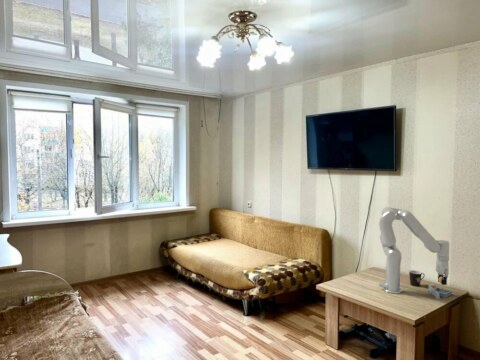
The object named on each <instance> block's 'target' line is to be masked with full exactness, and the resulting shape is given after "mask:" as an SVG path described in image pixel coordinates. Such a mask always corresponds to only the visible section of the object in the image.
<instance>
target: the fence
mask: <svg viewBox="0 0 480 360" xmlns="http://www.w3.org/2000/svg"><path fill="white" fill-rule="evenodd" d="M431 290H432V296H434V297H435V299H436V300H441V297H440V296H439V293H438V292H437V291H436V290H435V288H434V287H432V285H428V289H427V292H429V293H430V294H431Z"/></svg>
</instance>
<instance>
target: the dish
mask: <svg viewBox="0 0 480 360" xmlns="http://www.w3.org/2000/svg"><path fill="white" fill-rule="evenodd" d="M434 289H435V290H436V291H437V292H438V293H439V297H440V298H441V297H442V298H448V297H450V296H452V295H453V293H452V291H451V290H449V289H448V290H447V289H444V288H442V287H439V286H438V287H435V288H434ZM430 294H432V290H431V293H430ZM432 295H433V294H432Z"/></svg>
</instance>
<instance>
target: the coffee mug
mask: <svg viewBox="0 0 480 360" xmlns="http://www.w3.org/2000/svg"><path fill="white" fill-rule="evenodd" d="M408 273H409V274H408V275H409V284H410V286H412V287H415V288H416V287H417V288H418V287H420V285H421V281H422V280H423V279H424V278H425V273H424V272H422V271H419V270H413V269H412V270H411V269H410V270H409V271H408ZM422 275H423V276H422Z"/></svg>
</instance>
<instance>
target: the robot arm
mask: <svg viewBox="0 0 480 360" xmlns="http://www.w3.org/2000/svg"><path fill="white" fill-rule="evenodd" d="M395 220H396V221H402V223H403V224H404V225H405V226H406V227H407V229H408V230H409V231H410V232H411V233H412V234H413V235H414V236H415V237H417V238H418V239H419V240H420V241H421V242H422V243H423V245H424V247H425V249H426V250H428V251H430V252H431V253H436V263H435V272H436V273H437V282H439V281H438V279H439V277H442V284H441V285H442V286H447V284H448V278H449V274H450V273H449V271H450V270H449V268H450V267H449V261H450V242H449V241H448V240H444V239H435V238H434V236H432V234H431V233H430V232H429V231H428V230H427V229H426V228H425V227H424V225H423V224H422V223H421V222H420V220H419V219H417V217H416V216H415V215H414V214H413V213H412V212H411V211H409V210H407V209H402V208H396V207H388V206H387V207H384V208H382V210H381V217H380V219H379V223H378V225H379V231H380V235H379V239H380V243H381V248H382V250H383V253H384V255H385V256H386V264H385V282H384V283H383V284H382V283H378V287H380V288H383V291H385V292H386V293H391V294H401V293H403V290H402V288H401V265H402V264H401V263H402V252H401V251H400V249H399V248H397V245H396V242H397V237H396V235H395V231H394V230H393V229H394V228H393V222H394V221H395ZM439 283H440V282H439Z"/></svg>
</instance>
